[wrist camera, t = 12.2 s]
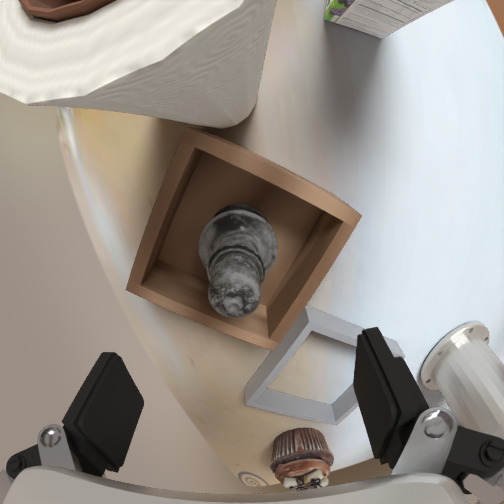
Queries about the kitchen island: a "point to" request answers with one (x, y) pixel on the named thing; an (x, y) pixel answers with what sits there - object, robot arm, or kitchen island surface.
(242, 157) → the walnut bin
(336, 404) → the grey frame
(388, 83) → the kitchen island surface
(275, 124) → the kitchen island surface
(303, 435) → the cupcake
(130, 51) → the paper towel roll
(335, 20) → the syrup box
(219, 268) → the grey chess piece
